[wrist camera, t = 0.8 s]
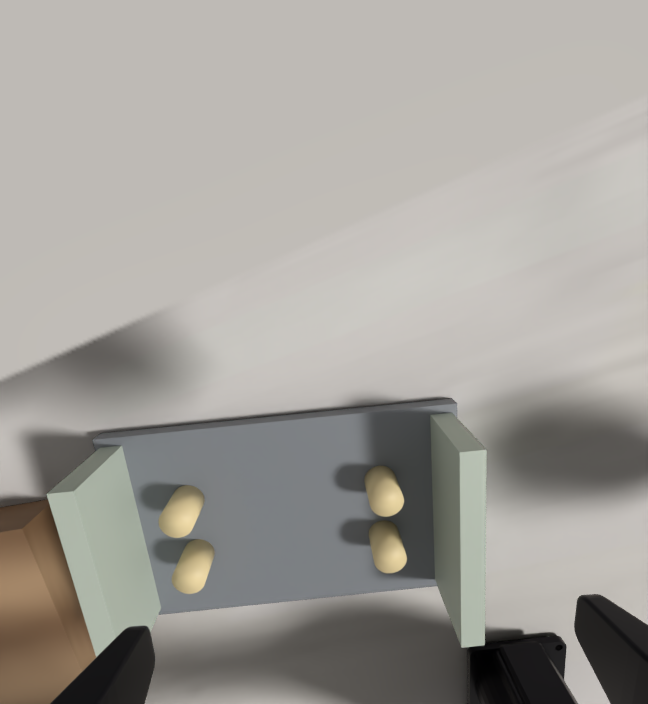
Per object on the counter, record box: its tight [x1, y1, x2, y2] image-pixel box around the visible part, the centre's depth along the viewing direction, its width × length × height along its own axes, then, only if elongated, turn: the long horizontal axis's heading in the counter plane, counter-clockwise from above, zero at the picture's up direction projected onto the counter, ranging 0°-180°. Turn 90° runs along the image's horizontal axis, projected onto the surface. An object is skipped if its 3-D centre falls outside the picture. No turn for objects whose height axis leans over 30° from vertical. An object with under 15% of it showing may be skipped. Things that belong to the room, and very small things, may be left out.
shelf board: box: [0, 499, 96, 704], centre depth 22 cm, size 14×6×3 cm, turn 10°
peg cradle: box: [47, 398, 487, 657], centre depth 20 cm, size 12×20×5 cm, turn 95°
